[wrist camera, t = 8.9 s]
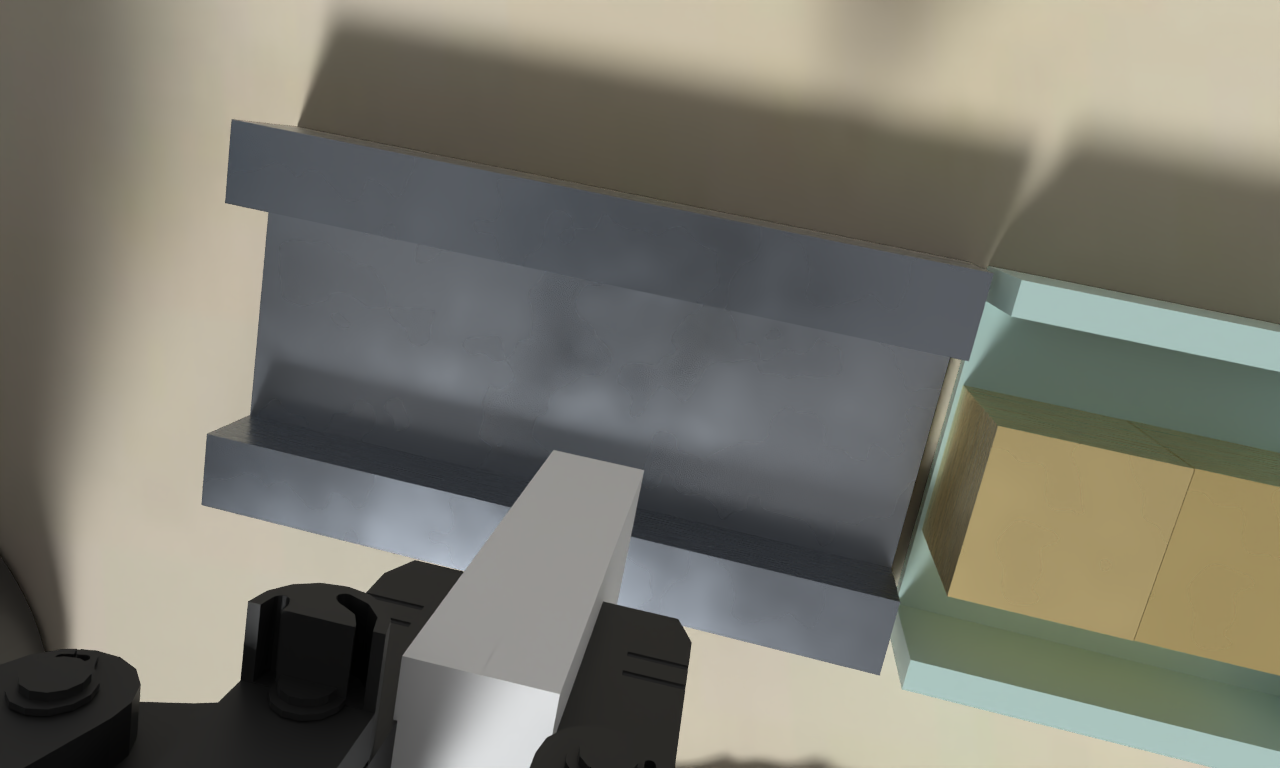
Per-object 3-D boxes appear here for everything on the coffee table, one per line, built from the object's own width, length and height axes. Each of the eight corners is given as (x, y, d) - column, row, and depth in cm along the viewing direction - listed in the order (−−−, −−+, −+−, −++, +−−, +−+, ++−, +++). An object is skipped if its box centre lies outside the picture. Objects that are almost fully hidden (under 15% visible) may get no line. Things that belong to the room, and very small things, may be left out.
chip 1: (921, 529, 24) (947, 596, 20) (963, 384, 23) (998, 425, 19) (1076, 566, 24) (1133, 640, 20) (1125, 420, 23) (1194, 469, 19)
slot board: (263, 470, 27) (201, 505, 24) (296, 126, 25) (231, 119, 22) (868, 618, 25) (879, 675, 22) (968, 261, 23) (994, 273, 20)
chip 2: (1077, 565, 24) (1133, 640, 20) (1126, 419, 23) (1195, 468, 19) (1238, 603, 23) (1327, 687, 19) (1295, 456, 22) (1401, 513, 19)
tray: (887, 623, 25) (902, 689, 22) (988, 265, 23) (1021, 279, 20) (1337, 733, 24) (1425, 821, 21) (1494, 367, 22) (1621, 401, 18)
